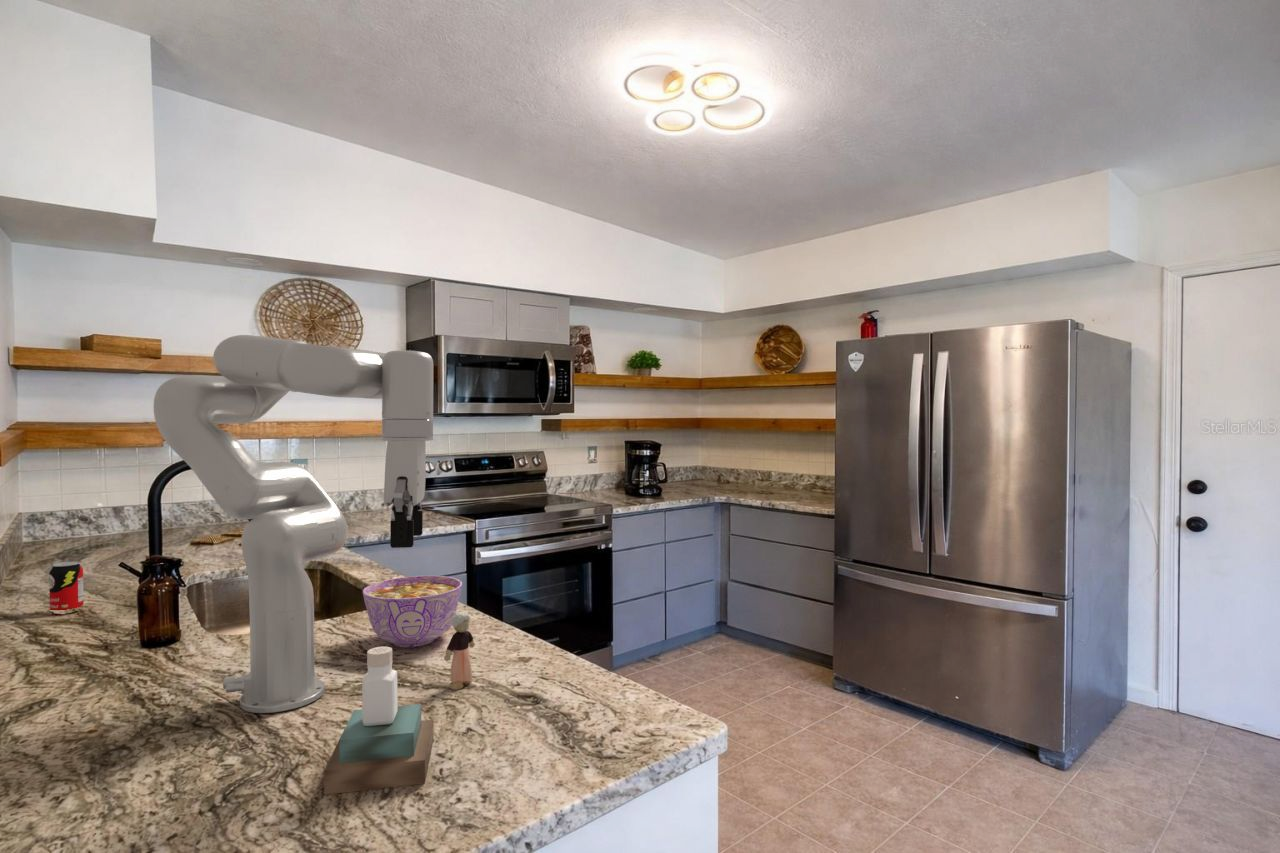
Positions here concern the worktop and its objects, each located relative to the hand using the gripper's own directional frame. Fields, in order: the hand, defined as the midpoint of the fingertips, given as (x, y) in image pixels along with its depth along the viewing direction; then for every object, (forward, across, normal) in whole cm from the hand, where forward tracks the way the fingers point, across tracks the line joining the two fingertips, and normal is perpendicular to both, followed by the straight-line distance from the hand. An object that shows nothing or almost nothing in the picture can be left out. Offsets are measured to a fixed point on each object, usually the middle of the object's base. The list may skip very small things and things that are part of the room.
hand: (407, 541), depth 105 cm
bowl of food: (+28, -38, -4) cm, 48 cm away
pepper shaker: (+22, +14, -1) cm, 26 cm away
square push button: (+28, +14, -1) cm, 31 cm away
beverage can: (+30, -78, -92) cm, 124 cm away
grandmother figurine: (+28, -13, +7) cm, 32 cm away
